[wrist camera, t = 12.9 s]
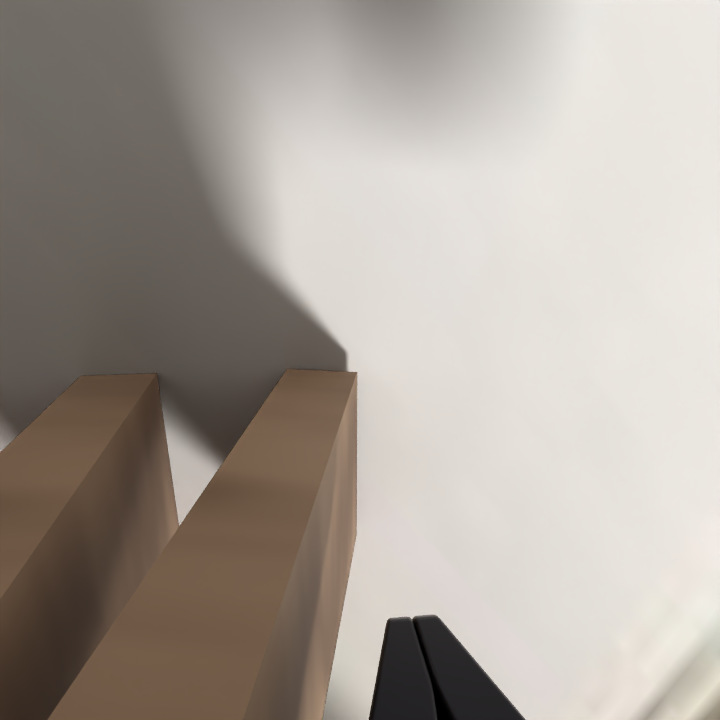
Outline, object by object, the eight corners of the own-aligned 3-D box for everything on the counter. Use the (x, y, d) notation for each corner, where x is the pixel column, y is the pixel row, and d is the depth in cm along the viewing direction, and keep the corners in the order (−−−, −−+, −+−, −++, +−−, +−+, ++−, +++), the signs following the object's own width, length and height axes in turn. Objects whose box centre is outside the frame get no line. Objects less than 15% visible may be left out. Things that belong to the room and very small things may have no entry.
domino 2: (356, 534, 15) (237, 1174, 5) (294, 529, 15) (76, 1136, 6) (357, 372, 13) (181, 906, 4) (287, 368, 13) (-53, 866, 4)
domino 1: (180, 537, 14) (-34, 1200, 5) (114, 541, 14) (-232, 1237, 5) (157, 373, 13) (-231, 932, 3) (80, 375, 13) (-547, 974, 3)
